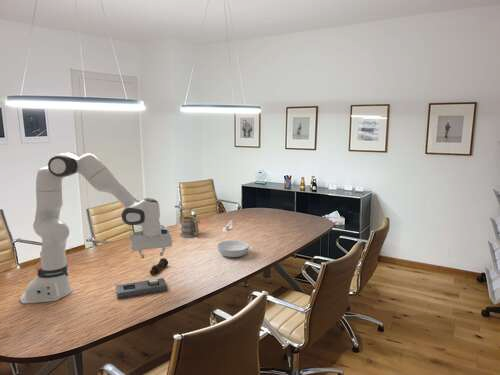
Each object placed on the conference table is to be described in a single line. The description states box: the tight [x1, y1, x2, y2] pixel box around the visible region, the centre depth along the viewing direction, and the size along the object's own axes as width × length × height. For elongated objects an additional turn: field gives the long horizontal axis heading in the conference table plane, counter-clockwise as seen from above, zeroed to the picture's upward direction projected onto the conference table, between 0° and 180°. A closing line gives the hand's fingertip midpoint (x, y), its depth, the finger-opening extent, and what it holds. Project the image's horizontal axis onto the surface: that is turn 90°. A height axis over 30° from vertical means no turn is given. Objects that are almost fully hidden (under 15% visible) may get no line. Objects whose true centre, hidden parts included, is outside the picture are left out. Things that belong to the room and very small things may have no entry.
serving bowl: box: [216, 239, 250, 258], centre depth 242 cm, size 21×21×7 cm
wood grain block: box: [148, 277, 158, 286], centre depth 191 cm, size 4×4×5 cm
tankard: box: [179, 216, 201, 239], centre depth 282 cm, size 20×13×15 cm, turn 43°
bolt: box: [149, 257, 169, 276], centre depth 215 cm, size 6×5×15 cm
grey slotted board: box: [115, 277, 168, 300], centre depth 189 cm, size 24×10×3 cm, turn 113°
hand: (152, 256), depth 188 cm, fingers open, 8 cm apart
